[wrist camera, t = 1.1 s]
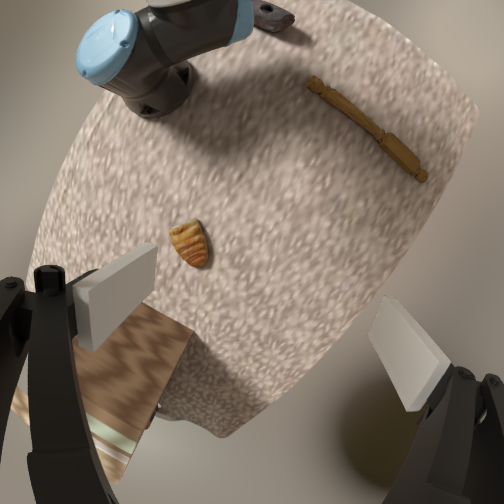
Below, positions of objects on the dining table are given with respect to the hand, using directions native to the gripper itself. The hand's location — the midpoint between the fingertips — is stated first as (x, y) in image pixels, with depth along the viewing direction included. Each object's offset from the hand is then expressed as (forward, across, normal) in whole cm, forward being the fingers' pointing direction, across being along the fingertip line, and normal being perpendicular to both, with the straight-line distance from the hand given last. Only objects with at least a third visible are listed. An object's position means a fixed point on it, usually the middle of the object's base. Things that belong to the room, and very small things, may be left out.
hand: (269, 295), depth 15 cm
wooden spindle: (+38, +16, +21) cm, 46 cm away
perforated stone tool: (+38, -11, +40) cm, 57 cm away
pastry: (+38, -14, -8) cm, 41 cm away
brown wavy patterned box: (+37, -23, -38) cm, 58 cm away
